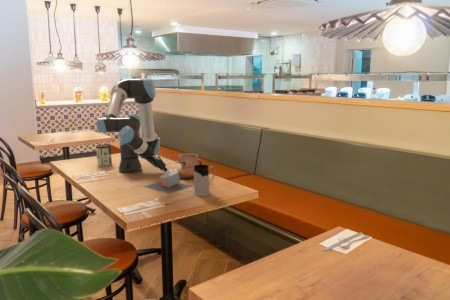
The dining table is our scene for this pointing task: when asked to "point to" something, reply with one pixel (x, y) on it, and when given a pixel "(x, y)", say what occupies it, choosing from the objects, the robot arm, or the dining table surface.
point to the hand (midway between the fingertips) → (168, 173)
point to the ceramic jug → (187, 165)
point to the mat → (161, 188)
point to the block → (170, 179)
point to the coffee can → (103, 155)
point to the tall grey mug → (202, 180)
